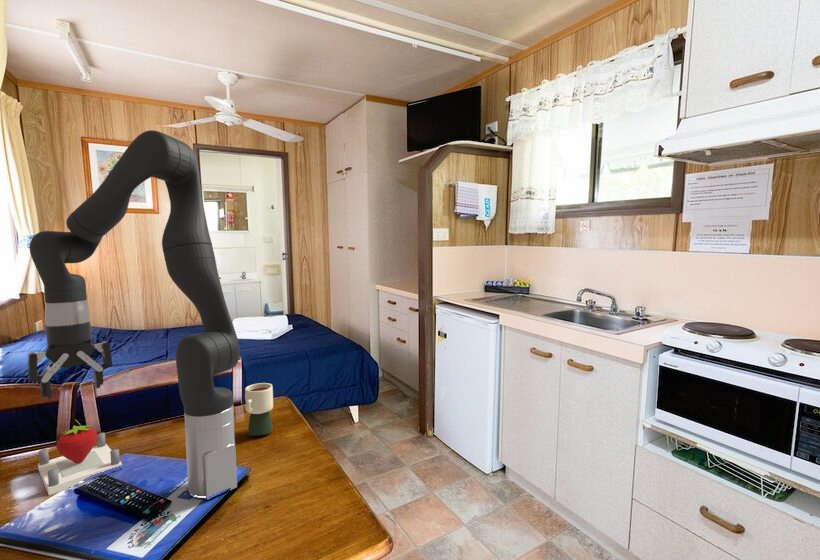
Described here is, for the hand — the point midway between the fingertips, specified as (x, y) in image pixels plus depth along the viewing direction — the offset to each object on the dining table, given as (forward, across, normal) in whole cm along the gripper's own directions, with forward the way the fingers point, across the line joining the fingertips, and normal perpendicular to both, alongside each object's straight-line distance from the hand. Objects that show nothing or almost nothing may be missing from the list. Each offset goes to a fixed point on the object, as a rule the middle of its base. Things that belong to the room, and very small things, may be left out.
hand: (74, 392), depth 89 cm
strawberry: (+17, 0, 0) cm, 17 cm away
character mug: (+19, +36, -15) cm, 43 cm away
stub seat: (+18, 0, 0) cm, 18 cm away
